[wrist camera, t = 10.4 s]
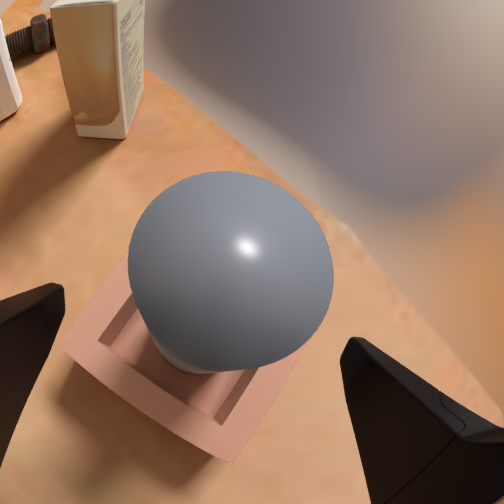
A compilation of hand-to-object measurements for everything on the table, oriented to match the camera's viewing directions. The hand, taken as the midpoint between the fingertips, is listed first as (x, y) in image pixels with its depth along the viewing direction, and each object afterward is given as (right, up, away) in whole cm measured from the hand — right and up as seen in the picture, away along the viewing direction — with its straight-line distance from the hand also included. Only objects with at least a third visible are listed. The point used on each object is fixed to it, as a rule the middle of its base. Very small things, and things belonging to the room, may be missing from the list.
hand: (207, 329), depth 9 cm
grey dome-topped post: (-2, -2, +9) cm, 9 cm away
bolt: (-25, +24, +15) cm, 38 cm away
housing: (-2, -3, +9) cm, 10 cm away
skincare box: (-10, +14, +14) cm, 22 cm away
